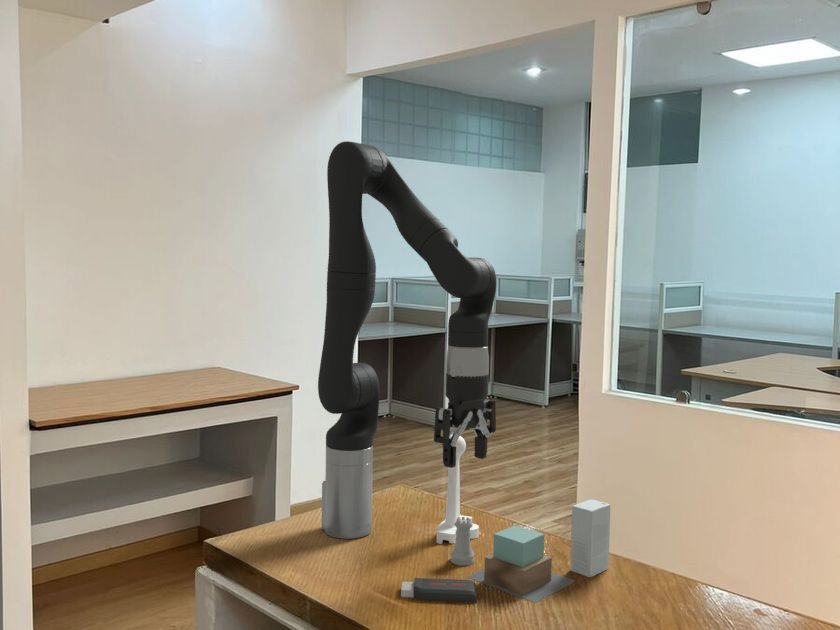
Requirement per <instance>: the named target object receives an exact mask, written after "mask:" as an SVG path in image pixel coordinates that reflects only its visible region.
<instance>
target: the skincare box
mask: <svg viewBox="0 0 840 630" xmlns="http://www.w3.org/2000/svg"><path fill="white" fill-rule="evenodd" d="M610 529H611V503H607V502H604V501H600V500H596V499H593V498H589V499H587V500H585V501H582V502H580V503H577V504H574V505H572V508H571V537H570V538H571V539H570V571H571V572H573V573H577V574H578V575H582V576H584V577H588V578H592V577H594V576H596V575H598V574H600V573H603V572H604V571H607V570H609V568H610V567H609V566H610V565H609V564H610V562H609V560H610V532H611V531H610Z"/></svg>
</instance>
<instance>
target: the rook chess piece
mask: <svg viewBox="0 0 840 630" xmlns="http://www.w3.org/2000/svg"><path fill="white" fill-rule="evenodd" d="M472 523H473V522H472ZM472 523H471V519H469V518H468V517H467V518H466V519H465V517H462V519H460V517H458V519H457V521H456V522H455V526H456V528H457V531H456V534H457V537H456V540H455V543H454V547H453V549H452V551H451V552H450V556H451V557H450V559H449V560H450V562H451V563H452V564H453V565H456V566H470V565H473V564H474V563H476V559H475V557H476V556H475V553H474V551H473V548H472V545H471V539H470V534H471V532H470V528H471V527H472V526H473V524H474V523H473V524H472Z"/></svg>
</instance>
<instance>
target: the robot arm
mask: <svg viewBox="0 0 840 630" xmlns="http://www.w3.org/2000/svg"><path fill="white" fill-rule="evenodd" d="M329 154H330V155H329V156H328V157H329V158H328V161H327V173H326V175H327V195H328V196H327V197H328V217H329V222H328V227H329V229H328V261H327V272H326V273H327V274H326V305H325V306H326V307H325V308H326V309H325V322H324V336H323V344H322V349H321V356H320V365H319V369H318V370H319V371H318V380H317V381H318V383H317V390H318V391H317V392H318V393H317V394H318V399H319V402H320V403H321V406H322V407H323V409H324V410H326V411H327V413H329V414H333V415H339V414H340V417H339V419H338V420H337V421H336V423H334V424H333V425H332V426H331V427H330V428H329V429H328V430H327V431H326V434H325V477H324V478H325V479H324V480H323V481H322V483H321V529H322V530H323V531H324V533H325V534H326V535H328V536H329V537H332V538H338V539H346V540H347V539H359V538H362V537H365V536H369V534H370V533H371V532H372V520H373V519H372V518H373V517H372V515H373V514H372V513H373V470H374V469H373V468H374V467H373V463H374V462H373V461H374V460H373V457H374V446H373V445H374V437H375V435H376V432H377V429H378V426H379V423H378V422H379V411H380V410H379V408H380V383H379V378H378V377H379V376H378V375H377V373H376V371H375V370H374V368H373V366H371V365H370V364H368V363H366V362H354V353H355V352H354V351H355V346H356V345H355V344H356V341H357V338H358V336H359V333H360V331H361V328H362V326H363V325H364V323H365V320H366V319H367V317H368V314H369V312H370V310H371V309H372V308H371V307H372V306H373V303H374V300H375V299H374V298H375V291H376V276H377V274H376V273H377V266H376V264H377V263H376V258H375V254H374V250H373V248H372V245H371V243H370V240H369V238H368V235H367V232H366V229H365V227H364V226H365V225H364V221H363V214H362V213H363V212H362V211H363V195H365V194H366V195H368V196H370V197H372V198H373V199H374V200H376V201H377V202H379V203H380V204H381V205H382V206H384V208H385V209H386V210H387V211H388V212H389V214H391V216H392V219H393V220H394V222H395V225H396V228H397V229H398V232H399V233H400V235H401V236H402V238H403V240H405V242H406V243H407V245H409V246H410V247H411V248H412V249H413V250H414V251H415V252H416V253H417V255H419V257H420V258H422V259H423V261H424V262H426V264H427V266H428V268H429V270H430V271H431V273H432V275H433V276H434V277H435V280H436V281H437V283H438V284H439V286H440V287H441V288H442V289H443V290H444V291H445V292H447V293H448V294H449V295H450V296H452V297H455V298H458V299H459V305H458V308H457V310H455V312H453V313H452V314H451V315H450V316H449V318H448V323H447V324H448V325H447V327H448V328H447V329H448V331H447V332H448V333H447V351H446V357H445V389H444V390H445V393H444V395H445V397H446V398H447V399H448V401H449V403H448V407H447V408H444V407H437V408H436V409H435V416H434V430H433V431H434V432H433V434H434V435H433V442H434V443H437V444H441V445H442V463H443V466H444V467H446V468H448V467H450V468H453V467H455V466H456V446H455V444H456V442H457V440H458V438H459V436H461V437H462V436H463V434H464V433H465V431H468V430H469V429H472V431H473V433H474V435H475V436H474V452H473V453H474V454H473V455H474V457H475V458H477V459H481V460H483V459H486V458H487V453H488V438H489V437H490V435H491V434H494V433H496V430H497V429H496V428H497V427H496V426H497V425H496V424H497V423H496V421H497V419H496V418H497V415H496V414H497V413H496V411H497V409H496V407H497V406H496V401H495V400H493V399H492V400H491V399H487V398H488V396H489V375H490V373H489V371H490V370H489V367H490V358H489V320H490V316H491V314H492V309H493V306H494V301H495V297H496V292H497V275H496V271H495V269H494V266H493V264H492V263H491V262H490V261H489V260H487V259H485V258H482V257H469V256H466V255H465V254H463V252H461V250H459V242H458V239H457V236H456V235H455V234H454V233H453V232H452V231H451V230H450V229H449V228H448V227H447V226H446V225H445V224H444V223H443V222H442V221H441V220H440V219H439V218H438V217H437V216H436V215H435V214H434V213H433V212H432V211H431V210H430V209H429V208H428V207H427V206H426V205H425V204H424V203H423V202H422V201H421V199H419V198H418V196H417V195H416V194H415V193H414V191H413V190H412V189H411V188H410V186H409V185H408V183H407V182H406V181H405V180H404V179H403V177H402V175H400V173H399V172H398V170H397V169H396V168H395V166H394V165H393V163H392V161H391V160H390V159H389V158H388V156H387V155H386V154H385V153H384V151H382V150H381V149H379V148H377V147H376V146H373V145H368V144H365V143H359V142H355V141H347V140H346V141H342V142H340V143H337V144H336V145H335V146H334V147H333V149H332V150H331V152H330V153H329ZM488 420H489V424H488ZM441 434H442V435H441ZM452 434H453V435H452ZM450 435H452V437H451V439H450V438H449V437H450Z"/></svg>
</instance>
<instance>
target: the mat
mask: <svg viewBox="0 0 840 630" xmlns="http://www.w3.org/2000/svg"><path fill="white" fill-rule="evenodd" d="M466 578H468V579H469V580H472V581H476V582H478V583H482V584H483V585H487V586H489V587H492V588H495V589H497V590H500V591H502V592H504V593H507V594H510V595H513V596H515V597H518V598H521V599H523V600H526V601H529V602H531V603H534V604H536V603H538V602H540V601H542V600H544V599H545V598H548V597H549V596H551V595H553V594H555V593H557V592H558V591H560V590H562V589H564V588H566V587H568V586H569V585H572V584H573V583H575V582H576V580H574V579H572V578H569V577H566V576H564V575H560V574H557V573H555V572H552V571H551V581H549V582H547V583H545V584H544V585H542V586H540V587H538V588H536V589H534V590H532V591H530V592H528V593H526V594H524V595H522V594H519V593H517V592H514V591H511V590H509V589H506V588H503V587H501V586H498V585H495V584H493V583H490V582H487V581H485V580H484V568H482V569H480V570H478V571H476V572H474V573H471V574H470V575H466Z"/></svg>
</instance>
